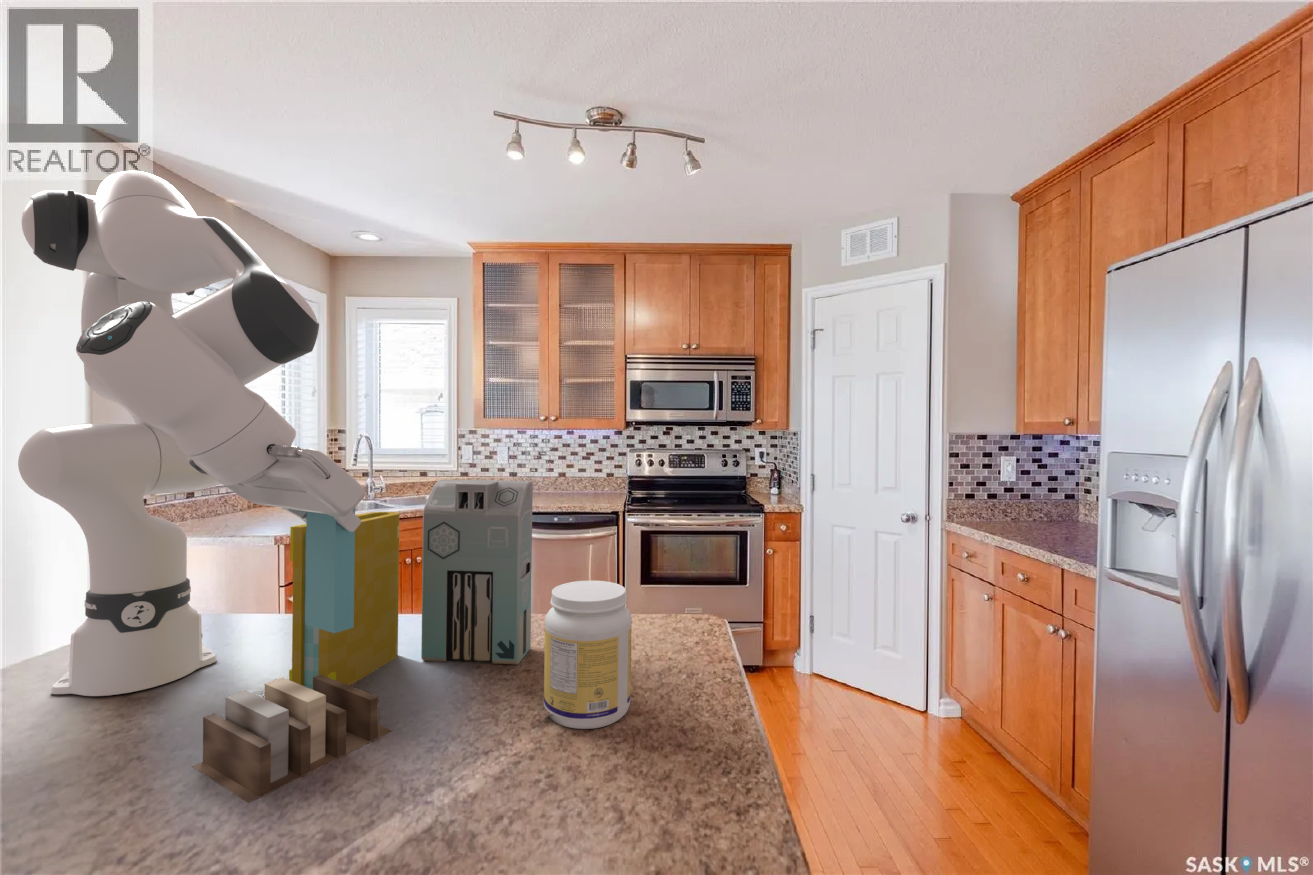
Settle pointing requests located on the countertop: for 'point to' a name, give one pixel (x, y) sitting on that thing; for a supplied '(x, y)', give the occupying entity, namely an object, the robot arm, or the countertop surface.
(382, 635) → the book
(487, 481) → the device
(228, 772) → the rack
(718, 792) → the countertop surface
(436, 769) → the countertop surface
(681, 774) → the countertop surface
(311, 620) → the tall sheet
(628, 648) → the supplement tub
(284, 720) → the offcut front
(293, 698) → the block
